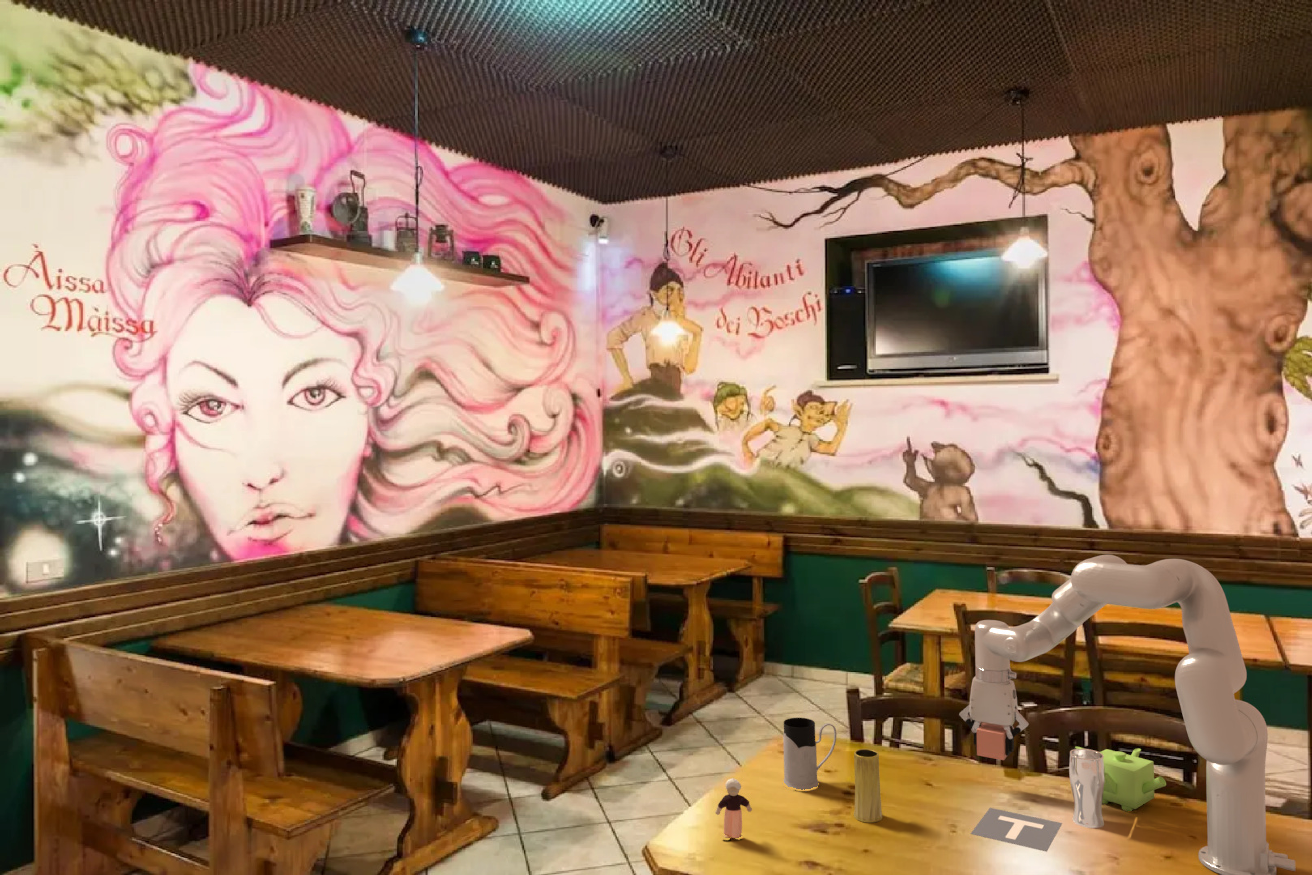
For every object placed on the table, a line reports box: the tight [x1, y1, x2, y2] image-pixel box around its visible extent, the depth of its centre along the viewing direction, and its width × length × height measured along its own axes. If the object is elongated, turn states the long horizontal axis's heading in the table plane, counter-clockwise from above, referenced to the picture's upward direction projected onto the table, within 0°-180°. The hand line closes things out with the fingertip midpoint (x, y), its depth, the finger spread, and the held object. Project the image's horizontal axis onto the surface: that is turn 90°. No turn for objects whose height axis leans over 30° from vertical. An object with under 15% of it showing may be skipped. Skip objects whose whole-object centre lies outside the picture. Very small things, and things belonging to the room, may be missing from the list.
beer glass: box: [1068, 748, 1105, 829], centre depth 194 cm, size 7×7×15 cm
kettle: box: [1074, 746, 1167, 812], centre depth 204 cm, size 15×14×11 cm
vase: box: [853, 748, 883, 824], centre depth 200 cm, size 6×6×14 cm
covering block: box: [976, 723, 1008, 761], centre depth 212 cm, size 6×6×6 cm
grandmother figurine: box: [714, 777, 753, 839], centre depth 192 cm, size 8×4×13 cm, turn 105°
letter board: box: [970, 807, 1063, 852], centre depth 192 cm, size 15×15×1 cm
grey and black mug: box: [782, 717, 837, 790], centre depth 220 cm, size 9×14×15 cm, turn 107°
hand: (993, 750), depth 212 cm, fingers closed on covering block, 6 cm apart
